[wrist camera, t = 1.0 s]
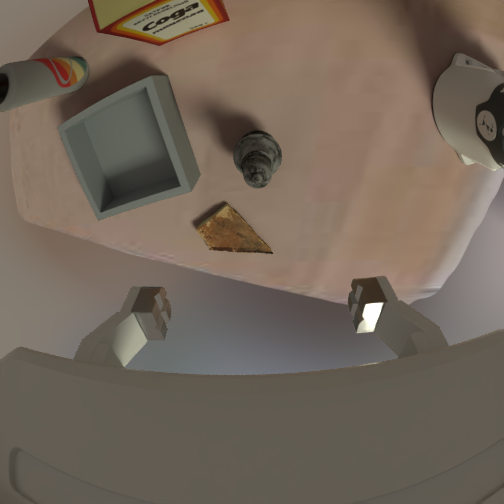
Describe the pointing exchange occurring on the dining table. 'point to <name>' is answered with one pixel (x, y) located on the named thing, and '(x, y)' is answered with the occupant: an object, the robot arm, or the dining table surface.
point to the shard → (230, 233)
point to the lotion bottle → (40, 80)
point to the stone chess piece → (257, 158)
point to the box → (131, 148)
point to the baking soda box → (155, 18)
